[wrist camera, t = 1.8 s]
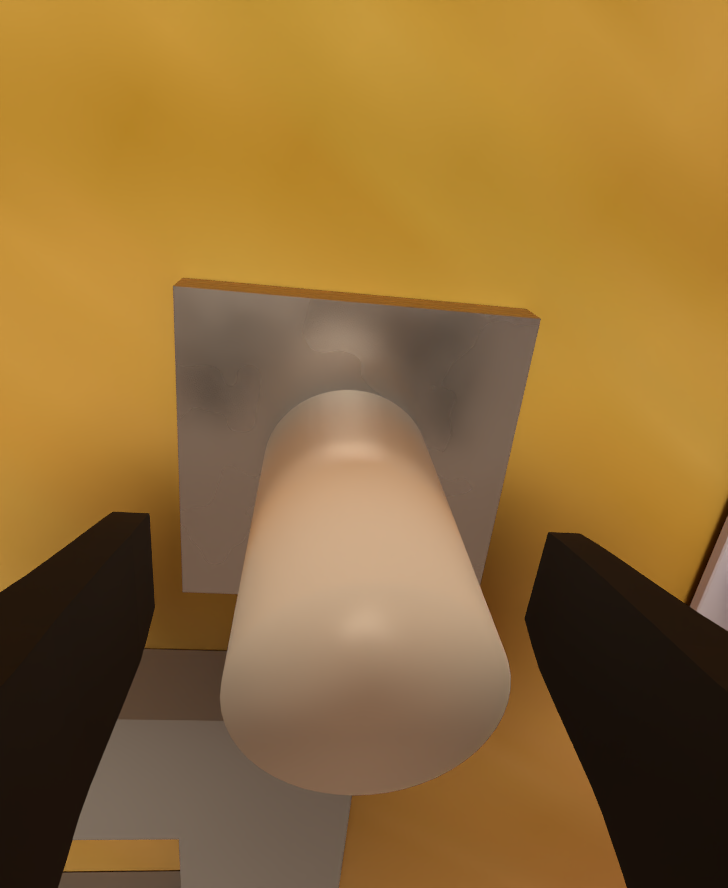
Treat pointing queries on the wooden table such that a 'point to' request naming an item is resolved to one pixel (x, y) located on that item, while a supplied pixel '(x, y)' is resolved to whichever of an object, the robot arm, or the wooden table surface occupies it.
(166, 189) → the wooden table surface
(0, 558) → the wooden table surface
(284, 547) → the peg
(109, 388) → the wooden table surface
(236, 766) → the hole plate
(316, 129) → the wooden table surface
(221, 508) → the square grey metal plate
